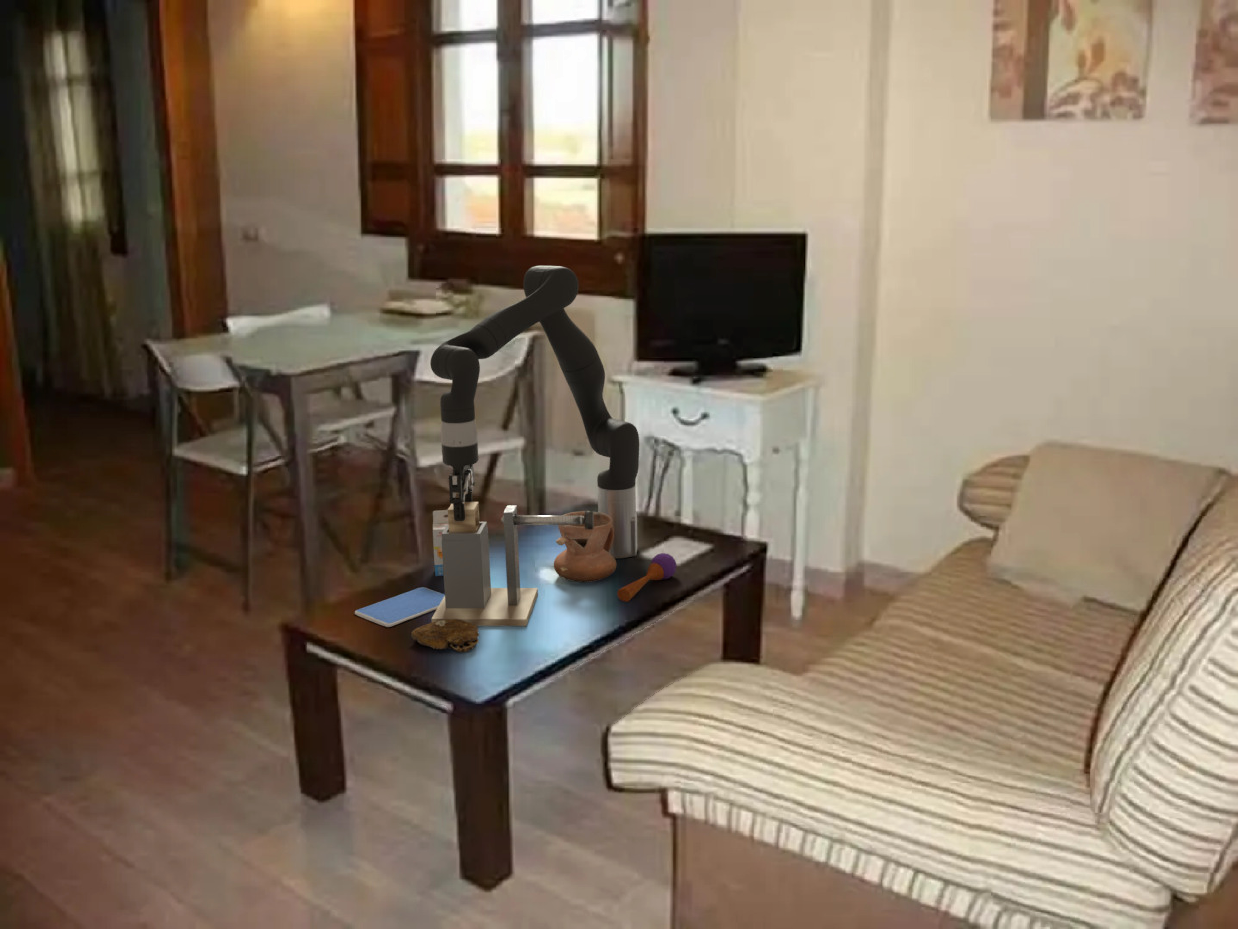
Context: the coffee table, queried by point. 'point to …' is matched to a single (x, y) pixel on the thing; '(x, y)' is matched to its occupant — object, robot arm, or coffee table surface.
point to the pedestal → (466, 568)
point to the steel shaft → (555, 520)
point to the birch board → (493, 610)
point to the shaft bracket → (512, 556)
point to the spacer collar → (470, 522)
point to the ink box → (439, 539)
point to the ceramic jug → (586, 550)
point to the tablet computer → (402, 607)
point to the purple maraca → (650, 575)
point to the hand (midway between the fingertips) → (463, 514)
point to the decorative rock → (447, 635)
